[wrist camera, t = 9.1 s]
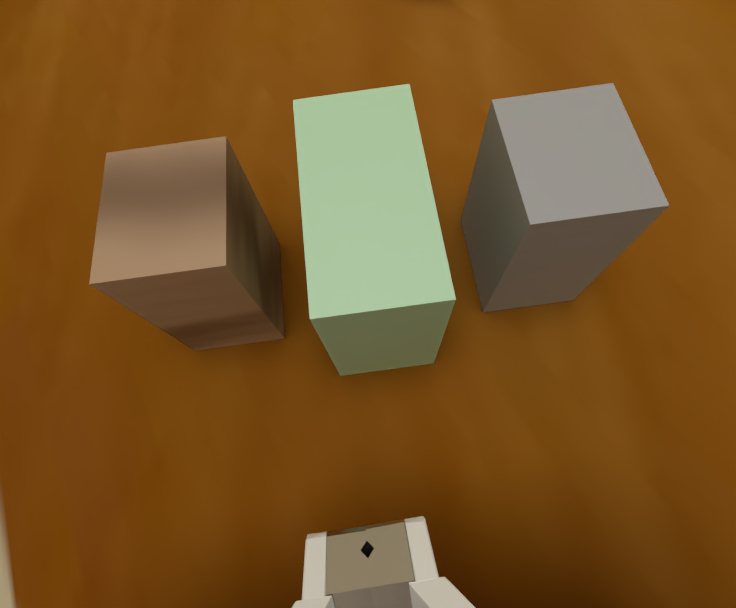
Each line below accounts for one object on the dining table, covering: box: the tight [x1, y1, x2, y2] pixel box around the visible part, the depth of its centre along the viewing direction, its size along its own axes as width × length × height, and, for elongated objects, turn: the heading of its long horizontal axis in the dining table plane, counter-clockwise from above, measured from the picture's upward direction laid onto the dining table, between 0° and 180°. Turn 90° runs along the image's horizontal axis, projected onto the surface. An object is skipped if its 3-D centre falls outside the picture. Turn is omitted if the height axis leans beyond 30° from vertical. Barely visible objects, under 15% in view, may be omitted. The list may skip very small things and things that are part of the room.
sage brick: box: [293, 84, 456, 376], centre depth 21 cm, size 10×5×9 cm, turn 7°
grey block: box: [461, 83, 669, 312], centre depth 21 cm, size 6×5×9 cm
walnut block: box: [89, 136, 285, 351], centre depth 21 cm, size 6×5×9 cm
